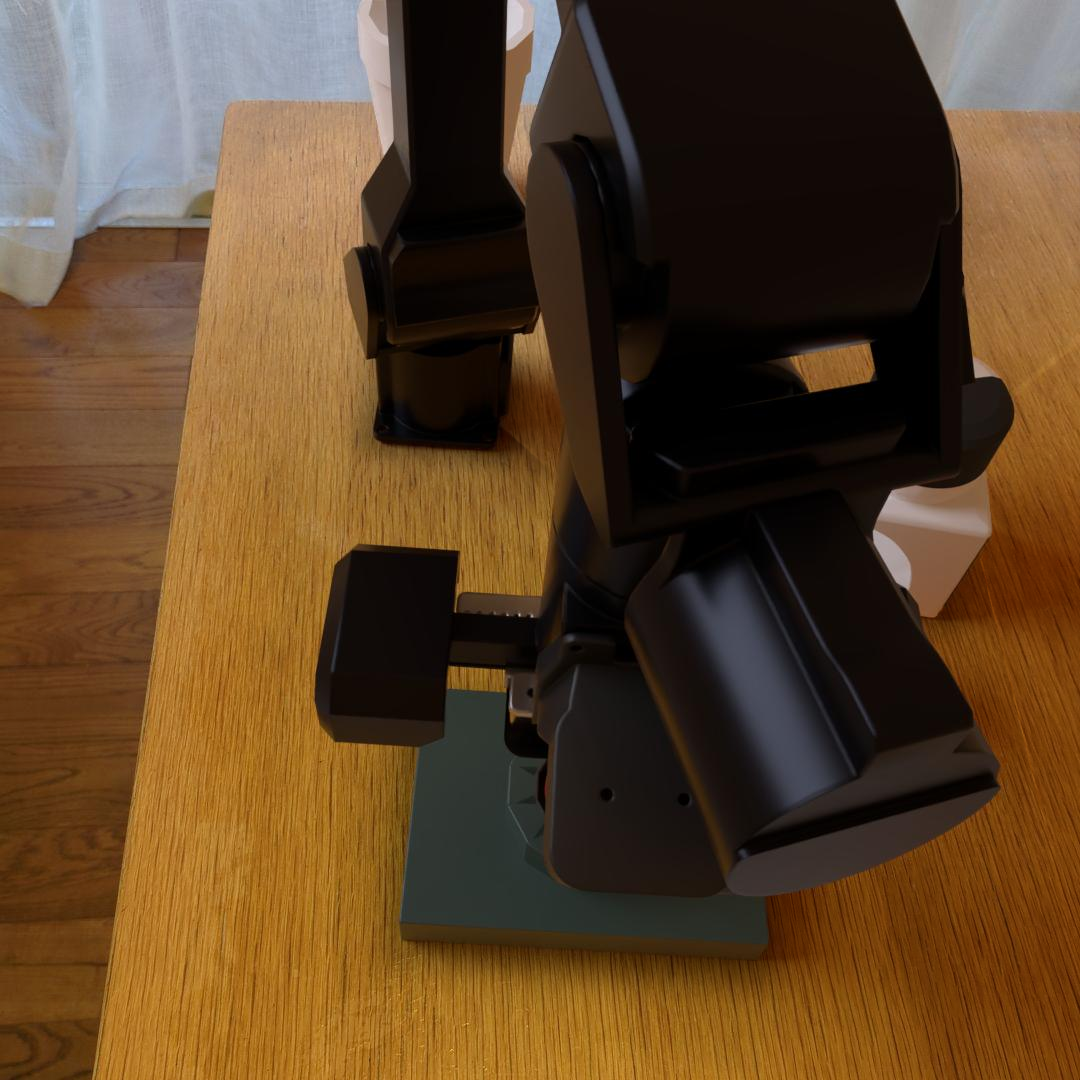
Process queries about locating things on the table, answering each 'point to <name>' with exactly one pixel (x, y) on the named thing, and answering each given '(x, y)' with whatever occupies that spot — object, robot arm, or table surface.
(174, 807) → the table surface
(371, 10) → the white flower pot
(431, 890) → the button block
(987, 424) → the medicine bottle
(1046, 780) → the table surface
